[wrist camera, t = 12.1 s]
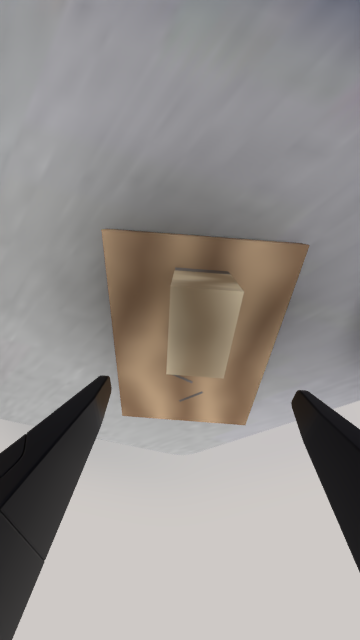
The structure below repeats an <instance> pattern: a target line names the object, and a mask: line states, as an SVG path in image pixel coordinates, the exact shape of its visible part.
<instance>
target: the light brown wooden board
mask: <svg viewBox="0 0 360 640" xmlns="http://www.w3.org/2000/svg"><path fill="white" fill-rule="evenodd" d="M102 238H103V247H104V256H105V265H106V274H107V283H108V291H109V300H110V309H111V318H112V327H113V336H114V345H115V354H116V362H117V371H118V380H119V389H120V398H121V407H122V416H132V417H145V418H159V419H172V420H185V421H198V422H211V423H224V424H237V425H245V424H246V421H247V419H248V416H249V413H250V410H251V407H252V405H253V402H254V399H255V396H256V393H257V391H258V388H259V385H260V382H261V379H262V377H263V374H264V371H265V368H266V365H267V363H268V360H269V357H270V354H271V352H272V349H273V346H274V343H275V340H276V338H277V335H278V332H279V329H280V326H281V324H282V321H283V318H284V315H285V312H286V310H287V307H288V304H289V301H290V299H291V296H292V293H293V290H294V287H295V285H296V282H297V279H298V276H299V273H300V271H301V268H302V265H303V262H304V259H305V257H306V254H307V251H308V248H309V245H306V244H302V243H289V242H276V241H262V240H249V239H236V238H222V237H209V236H196V235H183V234H169V233H156V232H143V231H130V230H116V229H102ZM175 267H177V268H190V269H203V270H216V271H228V272H229V273H230V274H231V275H232V277H233V278H234V279H235V281H236V282H237V283H238V285H239V286H240V287H241V288H242V290H243V291H244V294H243V298H242V303H241V307H240V311H239V315H238V320H237V324H236V328H235V332H234V337H233V341H232V345H231V349H230V354H229V358H228V362H227V366H226V371H225V375H224V379H222V378H209V377H196V376H184V375H171V374H166V371H167V349H168V328H169V307H170V286H171V282H172V278H173V274H174V271H175Z"/></svg>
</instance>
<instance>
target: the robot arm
mask: <svg viewBox="0 0 360 640" xmlns="http://www.w3.org/2000/svg"><path fill="white" fill-rule="evenodd" d="M110 394H111V382H110V377H109V376H99V377H98V378H97V379H95V380H94V381H93V382H91V383H90V384H89V385H88V386H86V387H85V388H84V389H82V390H81V391H80V392H79V393H77V394H76V395H75V396H74V397H72V398H71V399H70V400H68V401H67V402H66V403H65V404H63V405H62V406H61V407H59V408H58V409H57V410H56V411H54V412H53V413H52V414H50V415H49V416H48V417H47V418H45V419H44V420H43V421H41V422H40V423H39V424H38V425H36V426H35V427H34V428H33V429H31V430H30V431H29V432H27V434H25V435H23V436H22V437H21V438H20V439H18V440H17V441H16V442H14V443H13V444H12V445H10V446H9V447H8V448H7V449H5V450H4V451H3V452H1V453H0V640H12V638H13V636H14V634H15V631H16V629H17V626H18V624H19V622H20V619H21V617H22V614H23V612H24V610H25V607H26V605H27V602H28V600H29V598H30V595H31V593H32V590H33V588H34V586H35V583H36V581H37V578H38V576H39V574H40V571H41V569H42V566H43V564H44V560H45V559H46V557H47V554H48V552H49V549H50V547H51V545H52V542H53V540H54V537H55V535H56V533H57V530H58V528H59V525H60V523H61V521H62V518H63V516H64V513H65V511H66V508H67V506H68V504H69V501H70V499H71V497H72V494H73V491H74V489H75V487H76V485H77V482H78V480H79V477H80V475H81V472H82V470H83V468H84V465H85V463H86V461H87V458H88V456H89V453H90V451H91V449H92V446H93V444H94V441H95V439H96V437H97V434H98V432H99V429H100V427H101V424H102V421H103V418H104V414H105V411H106V408H107V404H108V401H109V398H110ZM292 409H293V412H294V415H295V418H296V421H297V424H298V427H299V430H300V433H301V436H302V439H303V442H304V444H305V446H306V449H307V451H308V454H309V456H310V458H311V460H312V463H313V465H314V467H315V469H316V472H317V474H318V477H319V479H320V481H321V484H322V486H323V488H324V490H325V493H326V495H327V497H328V500H329V502H330V505H331V507H332V509H333V511H334V514H335V516H336V518H337V521H338V523H339V525H340V528H341V530H342V532H343V535H344V537H345V539H346V542H347V544H348V546H349V549H350V551H351V553H352V555H353V558H354V560H355V562H356V564H357V567H358V569H359V572H360V429H358V428H357V427H356V426H354V425H353V424H352V423H350V422H349V421H348V420H346V419H345V418H343V417H342V416H341V415H339V414H338V413H337V412H335V411H334V410H333V409H331V408H330V407H329V406H327V405H326V404H325V403H323V402H322V401H321V400H319V399H318V398H317V397H315V396H314V395H312V394H311V393H310V392H308V391H305V390H298V391H297V392H296V394H295V396H294V398H293V400H292Z"/></svg>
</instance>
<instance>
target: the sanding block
mask: <svg viewBox="0 0 360 640" xmlns="http://www.w3.org/2000/svg"><path fill="white" fill-rule="evenodd" d="M243 294H244V291H243V290H242V288H241V287H240V286H239V285H238V283H237V282H236V281H235V279H234V278H233V277H232V275H231V274H230V273H229V272H228V271H216V270H203V269H190V268H177V267H175V271H174V274H173V278H172V282H171V286H170V307H169V328H168V349H167V371H166V374H171V375H184V376H196V377H209V378H222V379H224V375H225V371H226V366H227V362H228V358H229V354H230V349H231V345H232V341H233V337H234V332H235V328H236V324H237V320H238V315H239V311H240V307H241V303H242V298H243Z"/></svg>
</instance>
